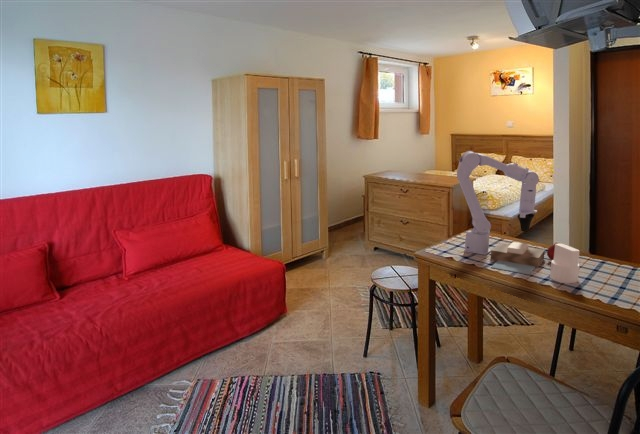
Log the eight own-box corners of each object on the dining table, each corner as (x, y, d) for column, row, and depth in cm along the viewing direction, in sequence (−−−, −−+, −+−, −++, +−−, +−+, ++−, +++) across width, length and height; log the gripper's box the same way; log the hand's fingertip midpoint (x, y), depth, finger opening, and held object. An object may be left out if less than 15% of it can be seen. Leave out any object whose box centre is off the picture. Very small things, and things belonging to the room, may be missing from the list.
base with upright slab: (583, 281, 158) (587, 249, 156) (561, 284, 157) (565, 252, 154) (565, 273, 167) (568, 242, 164) (544, 275, 165) (547, 244, 162)
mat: (491, 267, 174) (491, 267, 174) (498, 260, 182) (498, 260, 182) (529, 274, 166) (529, 274, 166) (535, 267, 174) (535, 266, 174)
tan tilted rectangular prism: (507, 252, 180) (507, 247, 179) (512, 246, 187) (513, 241, 186) (522, 254, 176) (523, 249, 176) (527, 248, 183) (528, 244, 183)
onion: (561, 264, 176) (563, 245, 174) (545, 262, 178) (547, 243, 177) (562, 260, 180) (564, 241, 178) (547, 258, 183) (548, 239, 181)
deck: (490, 259, 184) (491, 250, 183) (498, 251, 193) (499, 243, 192) (537, 267, 173) (538, 257, 172) (543, 259, 182) (544, 249, 182)
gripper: (534, 203, 177) (531, 236, 181) (541, 197, 189) (538, 228, 192) (515, 201, 181) (512, 233, 185) (523, 196, 193) (521, 226, 196)
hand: (524, 230), depth 188 cm, fingers closed
